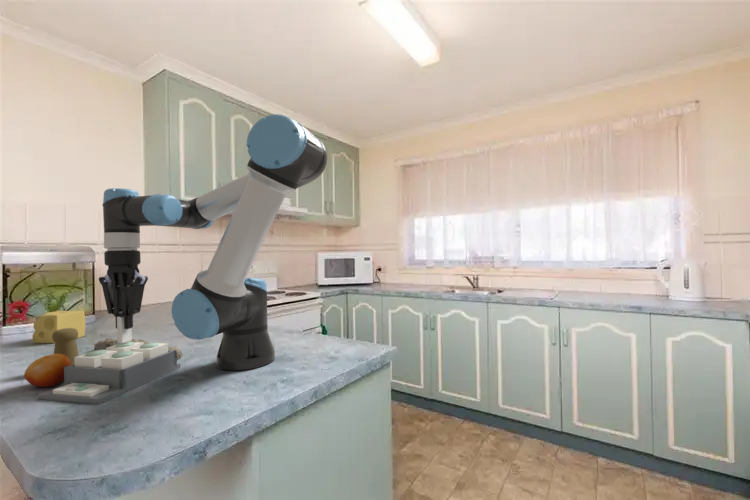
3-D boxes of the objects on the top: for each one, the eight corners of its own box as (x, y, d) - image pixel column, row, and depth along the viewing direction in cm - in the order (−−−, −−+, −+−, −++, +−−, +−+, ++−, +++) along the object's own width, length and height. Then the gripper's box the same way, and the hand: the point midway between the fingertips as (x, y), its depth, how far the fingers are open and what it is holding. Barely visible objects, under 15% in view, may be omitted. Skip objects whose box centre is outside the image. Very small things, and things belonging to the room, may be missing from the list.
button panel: (180, 367, 92) (180, 348, 92) (99, 404, 71) (98, 379, 71) (130, 364, 96) (129, 346, 96) (38, 398, 74) (37, 375, 74)
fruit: (87, 371, 87) (67, 348, 83) (55, 399, 80) (32, 375, 76) (66, 368, 89) (46, 346, 85) (34, 395, 83) (10, 372, 79)
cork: (63, 374, 89) (62, 331, 89) (44, 373, 90) (43, 331, 90) (87, 366, 95) (86, 326, 95) (69, 365, 96) (68, 326, 96)
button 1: (117, 363, 84) (117, 349, 84) (94, 371, 79) (94, 356, 79) (98, 362, 86) (98, 348, 86) (74, 370, 80) (74, 355, 80)
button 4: (168, 355, 90) (167, 341, 90) (150, 362, 85) (149, 348, 85) (150, 354, 91) (149, 341, 91) (130, 361, 86) (130, 347, 86)
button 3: (143, 353, 92) (143, 341, 92) (124, 360, 86) (124, 347, 86) (126, 353, 93) (125, 340, 93) (106, 359, 87) (105, 346, 87)
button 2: (143, 364, 83) (143, 350, 83) (121, 372, 77) (121, 357, 77) (123, 363, 84) (123, 349, 84) (101, 371, 79) (101, 356, 79)
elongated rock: (159, 371, 94) (191, 362, 103) (160, 352, 94) (192, 344, 104) (82, 352, 108) (116, 346, 117) (83, 335, 108) (117, 330, 117)
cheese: (32, 343, 123) (31, 315, 123) (64, 335, 133) (63, 309, 133) (56, 344, 121) (56, 315, 121) (87, 336, 132) (86, 309, 132)
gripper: (156, 249, 92) (158, 338, 92) (115, 250, 95) (117, 336, 95) (130, 249, 85) (132, 346, 85) (87, 250, 87) (89, 344, 87)
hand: (124, 341), depth 90 cm, fingers closed
